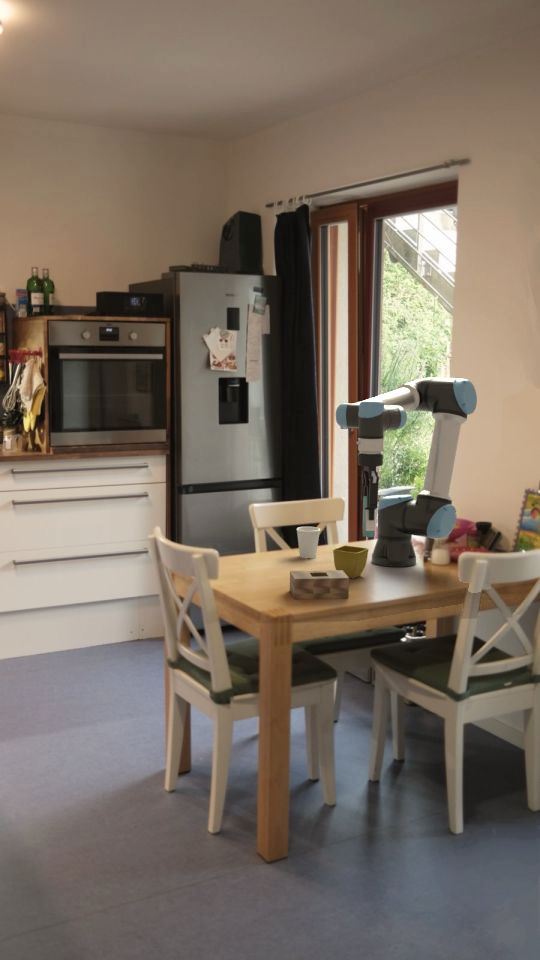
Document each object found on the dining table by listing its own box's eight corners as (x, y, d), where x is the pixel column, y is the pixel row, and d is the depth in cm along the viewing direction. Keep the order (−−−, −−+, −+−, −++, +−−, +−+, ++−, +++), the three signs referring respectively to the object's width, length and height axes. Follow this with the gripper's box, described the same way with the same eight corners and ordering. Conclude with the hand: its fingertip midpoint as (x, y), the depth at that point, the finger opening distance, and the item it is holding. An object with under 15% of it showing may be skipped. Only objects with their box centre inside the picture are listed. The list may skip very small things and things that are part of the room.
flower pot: (368, 575, 315) (369, 548, 314) (356, 580, 308) (357, 552, 307) (344, 572, 320) (344, 545, 318) (331, 577, 312) (332, 549, 311)
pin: (372, 534, 298) (373, 495, 296) (375, 536, 295) (376, 497, 293) (361, 534, 298) (362, 495, 296) (363, 537, 294) (364, 497, 292)
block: (342, 589, 296) (342, 570, 296) (348, 598, 286) (348, 578, 286) (289, 590, 294) (290, 571, 294) (294, 599, 285) (294, 578, 284)
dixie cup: (316, 560, 337) (316, 531, 336) (293, 558, 340) (293, 530, 338) (322, 555, 345) (323, 527, 344) (299, 553, 347) (300, 525, 346)
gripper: (352, 449, 300) (351, 524, 304) (364, 455, 284) (362, 534, 287) (376, 449, 301) (374, 524, 304) (389, 455, 285) (387, 534, 288)
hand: (368, 529), depth 296 cm, fingers closed on pin, 3 cm apart
